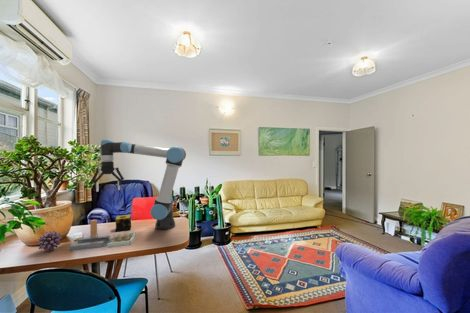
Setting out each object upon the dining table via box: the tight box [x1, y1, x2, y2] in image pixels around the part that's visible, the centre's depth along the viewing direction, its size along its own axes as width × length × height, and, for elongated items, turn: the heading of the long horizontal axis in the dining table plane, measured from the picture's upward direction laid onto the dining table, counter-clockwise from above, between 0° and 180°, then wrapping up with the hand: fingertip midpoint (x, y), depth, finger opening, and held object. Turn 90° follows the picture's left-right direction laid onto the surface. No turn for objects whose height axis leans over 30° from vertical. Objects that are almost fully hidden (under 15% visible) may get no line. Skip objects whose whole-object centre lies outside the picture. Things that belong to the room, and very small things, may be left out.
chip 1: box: [113, 233, 124, 242], centre depth 136 cm, size 4×4×4 cm
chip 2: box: [121, 233, 131, 242], centre depth 137 cm, size 4×4×4 cm
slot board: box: [69, 234, 114, 252], centre depth 132 cm, size 20×14×4 cm
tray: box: [107, 232, 137, 248], centre depth 137 cm, size 13×16×3 cm
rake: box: [89, 219, 99, 237], centre depth 143 cm, size 3×6×13 cm, turn 16°
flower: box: [36, 230, 64, 253], centre depth 126 cm, size 12×12×12 cm
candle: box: [115, 214, 132, 233], centre depth 162 cm, size 10×10×10 cm
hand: (108, 190), depth 150 cm, fingers open, 13 cm apart
